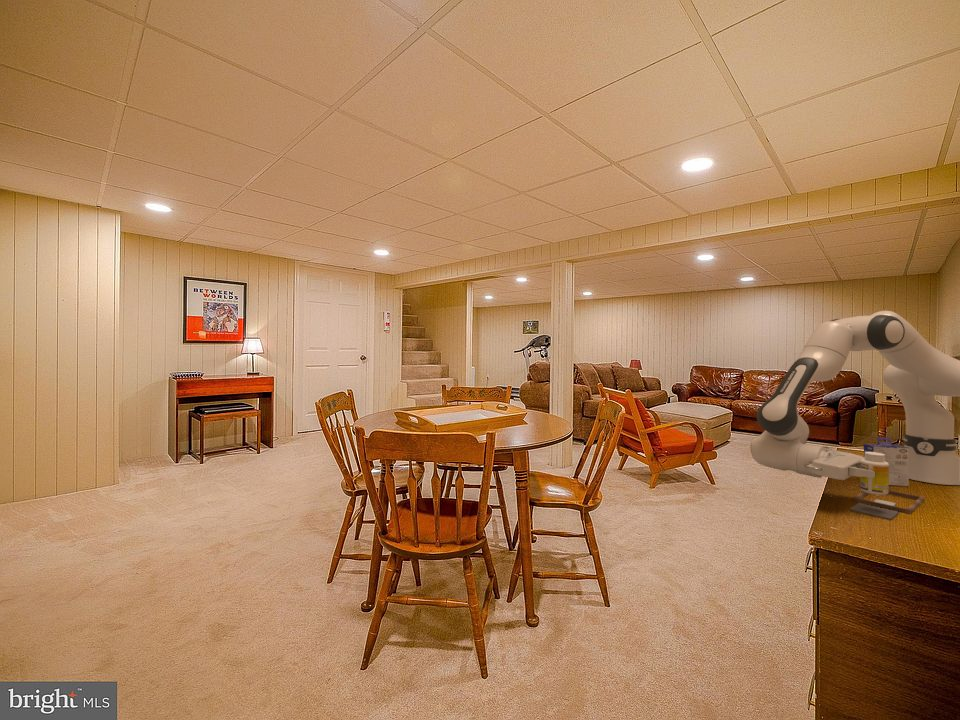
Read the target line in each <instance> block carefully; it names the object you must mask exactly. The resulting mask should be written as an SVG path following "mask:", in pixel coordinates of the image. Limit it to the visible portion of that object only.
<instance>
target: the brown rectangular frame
mask: <svg viewBox="0 0 960 720" xmlns="http://www.w3.org/2000/svg"><path fill="white" fill-rule="evenodd" d="M869 494H870V493H867V492H864V491H861V492H859V493H858V494H856V495H855V496H853V497H852V503H853V502H855V503H857V504H858V503H863V504H866V505H867V504H868V505H873V506H875V507H876V506H877V507H882V508H884V509H885V508H886V509H890V510H893V511H899V513H904V514H908V515H912V513H913V512H915V510H916V509H917V508H918V507H919V506H920V505H922V504H923V503H924V502H925V496H919V495H915V494H910V493H906V492H905V493H904V492H900V491H894V490H889V492H888V494H887V495H890V496H896V497H900V496H901V498H905V499H906V498H907V499H911V500H914V502H913V503H911V504H910V505H909V506H908V507H907V508H905V507H901V506H900V507H899V506H897V505H895V506H892V505H887V504H883V503H878V502H874V500H873V501H872V500H870V499H864V498H865V497H867V496H868V495H869ZM864 496H865V497H864ZM861 498H862V499H861Z"/></svg>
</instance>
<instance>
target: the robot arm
mask: <svg viewBox="0 0 960 720" xmlns="http://www.w3.org/2000/svg"><path fill="white" fill-rule="evenodd" d="M874 350H877V352H879V354H880V355H881V356H882V357H883V358H884V359H885V360H886V361H887V362H888V364H889V365H887V366H886V367H885V369H884V370H883V373H882V380H883V382H884V385H885V386H886V387H887V388H888V389H889V390H891V391H893V393H895V395H896V396H897V397H898V398H899V400H900V402H901V404H902V406H903V409H904V413H905V433H904V434H903V439H902V440H903V444H904V445H903V446H904V447H907V448H909V480H913V481H918V482H921V483H922V482H924V483H928V484H934V485H935V484H937V485H948V486H960V455H958V454H957V452H956V449H957V442H956V439H955V416H954V414H953V413H952V411H950V410H949V409H947V408H945V407H944V406H942V405H941V404H940V403H939V402H938V401H937V399H936V396H941V397H942V396H943V397H954V398H955V397H958V398H959V397H960V359H957V358H955V357H952V356H950V355H948V354H946V353H945V352H943V351H941V350H940V349H938V348H936V347H934V346H933V345H932V344H930V343H929V342H928V341H927V340H926V339H925V337H924V336H922V335H921V334H920V332H919V331H918V330H917V329H916V328H915V327H914V326H913V325H912V324H911V323H910V322H909V321H908V320H906V319H905V318H904V317H902V316H901V315H900V314H898V313H896V312H894V311H893V310H879V311H877V312H874V313H872V314H870V315H857V316H852V317H851V316H850V317H845V318H835V319H831V320H828V321H823V322H822V323H820V324H819V325H818V326H817V327H816V328H815V329H814V330H813V333H811V335H810V336H809V337H808V340H806V343H805V345H804V346H803V349H802V351H801V352H800V354H799V356H798V358H797V359H796V360H795V361H794V362H793V363H792V364H791V366H790V368H788V370H787V372H786V374H785V375H784V377H783V378H782V380H781V382H780V383H779V385H778V386H777V388H776V389H775V391H774V392H773V394H772V395H771V396H770V397H769V398H768V399H767V400H766V401H764V402H763V403H762V404H761V405H760V406H759V408H758V410H757V413H756V420H757V424H758V425H759V426H760V428H762V430H764V431H763V432H762V433H760V435H758V436H757V437H755V438H753V439H752V440H751V443H750V453H751V456H752V458H753V460H754V461H755V462H756V463H757V464H759V465H761V466H764V467H767V468H770V469H774V470H779V471H783V472H784V471H786V472H787V471H789V472H794V473H797V474H799V475H805V476H809V477H812V478H813V477H814V478H818V479H819V478H820V479H821V478H823V477H825V478H830V479H833V480H838V481H839V480H841V481H845V480H847V479H849V478H851V477H859V478H860V477H869V478H874V477H876V471H874V470H869V469H860V461H861V460H862V459H865V458H864V455H863V456H862V455H860V454H859V455H858V454H856V453H855V454H854V453H850V452H846V451H841V450H837V449H834V450H833V448H832V447H829V446H820V445H813V444H807V441H808V438H809V437H810V428H809V425H808V424H807V422H806V421H805V420H804V418H803V417H802V416H801V415H800V414H799V411H798V404H799V402H800V401H801V398H802V397H803V395H804V393H805V392H806V390H807V388H808V387H809V386H810V384H811V383H812V382H828V381H831V380H833V379H835V377H836V376H837V375H838V374H839V373H840V371H841V370H842V369H843V367H844V365H845V363H846V361H847V358H848V357H849V353H850V352H863V351H864V352H865V351H874Z"/></svg>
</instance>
